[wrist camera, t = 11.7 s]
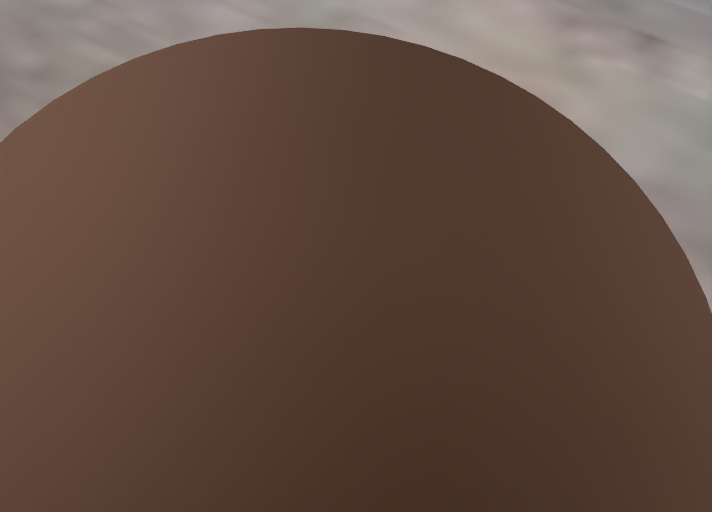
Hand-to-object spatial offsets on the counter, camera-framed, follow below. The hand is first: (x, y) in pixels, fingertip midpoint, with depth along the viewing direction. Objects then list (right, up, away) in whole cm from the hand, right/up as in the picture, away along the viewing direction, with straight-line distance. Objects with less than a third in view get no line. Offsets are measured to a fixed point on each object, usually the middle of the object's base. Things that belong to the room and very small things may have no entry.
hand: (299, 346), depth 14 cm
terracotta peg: (-1, -6, +3) cm, 7 cm away
